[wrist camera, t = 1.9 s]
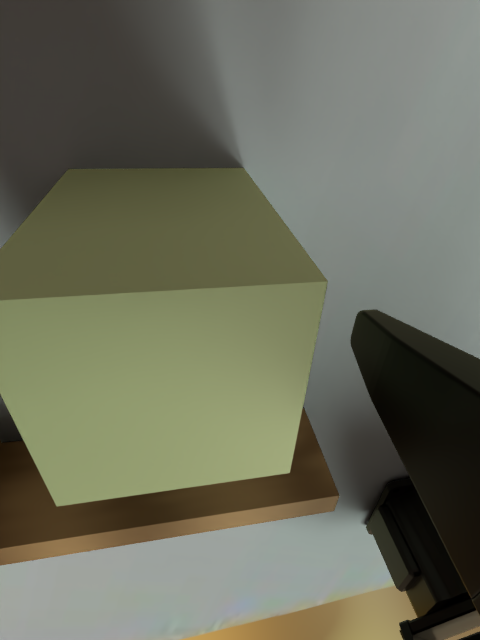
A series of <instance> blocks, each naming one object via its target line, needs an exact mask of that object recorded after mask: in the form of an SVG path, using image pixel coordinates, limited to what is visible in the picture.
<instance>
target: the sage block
mask: <svg viewBox="0 0 480 640" xmlns="http://www.w3.org/2000/svg"><path fill="white" fill-rule="evenodd" d="M327 283H328V281H327V280H326V278H325V277H324V276H323V274H322V273H321V271H320V270H319V269H318V267H317V266H316V265H315V263H314V262H313V261H312V259H311V258H310V257H309V255H308V254H307V253H306V251H305V250H304V249H303V247H302V246H301V244H300V243H299V242H298V240H297V239H296V238H295V236H294V235H293V234H292V232H291V231H290V230H289V228H288V227H287V226H286V224H285V223H284V222H283V220H282V219H281V217H280V216H279V215H278V213H277V212H276V211H275V209H274V208H273V207H272V205H271V204H270V203H269V201H268V200H267V199H266V197H265V196H264V195H263V193H262V192H261V190H260V189H259V188H258V186H257V185H256V184H255V182H254V181H253V180H252V178H251V177H250V176H249V174H248V173H247V172H246V170H245V169H244V168H145V169H68V170H67V171H66V172H65V174H64V175H63V176H62V177H61V178H60V179H59V181H58V182H57V183H56V184H55V185H54V187H53V188H52V189H51V190H50V191H49V192H48V194H47V195H46V196H45V197H44V198H43V200H42V201H41V202H40V203H39V204H38V205H37V207H36V208H35V209H34V210H33V211H32V212H31V214H30V215H29V216H28V217H27V218H26V220H25V221H24V222H23V223H22V224H21V225H20V227H19V228H18V229H17V230H16V231H15V233H14V234H13V235H12V236H11V237H10V238H9V240H8V241H7V242H6V243H5V244H4V246H3V247H2V248H1V249H0V394H1V396H2V398H3V400H4V402H5V404H6V406H7V408H8V410H9V412H10V414H11V416H12V418H13V420H14V422H15V424H16V426H17V428H18V430H19V432H20V434H21V436H22V438H23V440H24V442H25V444H26V446H27V448H28V450H29V452H30V454H31V456H32V458H33V460H34V462H35V464H36V466H37V468H38V470H39V472H40V474H41V476H42V478H43V480H44V482H45V484H46V486H47V488H48V490H49V492H50V494H51V496H52V498H53V500H54V502H55V504H56V506H57V507H58V506H65V505H71V504H78V503H85V502H92V501H99V500H106V499H113V498H120V497H127V496H134V495H141V494H148V493H155V492H162V491H169V490H176V489H182V488H189V487H196V486H203V485H210V484H217V483H224V482H231V481H238V480H245V479H252V478H259V477H266V476H273V475H280V474H287V473H290V469H291V464H292V459H293V454H294V449H295V444H296V439H297V434H298V429H299V424H300V419H301V414H302V409H303V404H304V399H305V394H306V389H307V384H308V379H309V374H310V369H311V364H312V359H313V353H314V348H315V343H316V338H317V333H318V328H319V323H320V318H321V313H322V308H323V303H324V298H325V293H326V288H327Z"/></svg>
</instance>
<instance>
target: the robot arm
mask: <svg viewBox="0 0 480 640" xmlns="http://www.w3.org/2000/svg"><path fill="white" fill-rule="evenodd" d="M351 347H352V350H353V352H354V355H355V358H356V361H357V363H358V366H359V369H360V371H361V374H362V377H363V380H364V382H365V385H366V388H367V390H368V393H369V395H370V398H371V400H372V402H373V404H374V406H375V408H376V410H377V412H378V414H379V416H380V418H381V420H382V422H383V424H384V426H385V428H386V430H387V432H388V434H389V436H390V438H391V440H392V442H393V444H394V446H395V448H396V450H397V452H398V454H399V456H400V458H401V460H402V462H403V464H404V466H405V468H406V470H407V472H408V474H409V476H410V479H403V480H397V481H392V482H390V483H389V484H387V485H386V487H385V489H384V491H383V493H382V495H381V497H380V500H379V502H378V504H377V506H376V508H375V510H374V512H373V514H372V516H371V518H370V520H369V522H368V524H367V526H366V528H367V531H368V533H369V534H373V536H374V538H375V540H376V543H377V545H378V547H379V549H380V552H381V554H382V556H383V559H384V561H385V563H386V565H387V568H388V570H389V572H390V574H391V577H392V579H393V581H394V583H395V586H396V588H397V589H398V590H399V591H401V592H402V591H406V593H407V595H408V597H409V600H410V602H411V604H412V606H413V609H414V611H415V613H416V615H417V617H418V618H416V619H413V620H411V621H410V620H406V621H403V622H401V623H399V625H400V628H401V630H400V633H401V635H402V638H403V640H444V639H447V638H450V637H453V636H455V635H458V634H460V633H463V632H465V631H468V630H471V629H473V628H476V627H479V626H480V359H478V358H476V357H474V356H472V355H470V354H468V353H466V352H464V351H462V350H460V349H458V348H455V347H453V346H451V345H449V344H447V343H445V342H443V341H441V340H439V339H437V338H435V337H433V336H430V335H428V334H426V333H424V332H422V331H420V330H418V329H416V328H414V327H412V326H410V325H408V324H405V323H403V322H401V321H399V320H397V319H395V318H393V317H391V316H389V315H387V314H385V313H382V312H380V311H378V310H374V309H373V310H361V311H360V312H358V314H357V316H356V320H355V323H354V327H353V331H352V335H351ZM459 640H480V632H477V633H475V634H472V635H469V636H467V637H464V638H461V639H459Z"/></svg>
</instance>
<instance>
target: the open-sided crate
mask: <svg viewBox="0 0 480 640" xmlns="http://www.w3.org/2000/svg"><path fill="white" fill-rule="evenodd" d="M338 498H339V493H338V491H337V488H336V486H335V483H334V481H333V478H332V476H331V473H330V471H329V468H328V466H327V464H326V461H325V459H324V456H323V454H322V451H321V449H320V446H319V444H318V441H317V439H316V436H315V434H314V431H313V429H312V426H311V424H310V421H309V419H308V416H307V414H306V411H305V409H304V408H303V409H302V414H301V419H300V424H299V429H298V434H297V439H296V444H295V449H294V454H293V459H292V464H291V469H290V473H287V474H280V475H273V476H266V477H259V478H252V479H245V480H238V481H231V482H224V483H217V484H210V485H203V486H196V487H189V488H182V489H176V490H169V491H162V492H155V493H148V494H141V495H134V496H127V497H120V498H113V499H106V500H99V501H92V502H85V503H78V504H71V505H65V506H58V507H57V506H56V504H55V502H54V500H53V498H52V496H51V494H50V492H49V490H48V488H47V486H46V484H45V482H44V480H43V478H42V476H41V474H40V472H39V470H38V468H37V466H36V464H35V462H34V460H33V458H32V456H31V454H30V452H29V450H28V448H27V446H26V444H25V442H24V440H23V441H15V442H6V443H1V441H0V565H6V564H12V563H18V562H24V561H30V560H37V559H43V558H49V557H55V556H61V555H67V554H73V553H79V552H86V551H92V550H98V549H104V548H110V547H116V546H122V545H128V544H135V543H141V542H147V541H153V540H159V539H165V538H171V537H177V536H184V535H190V534H196V533H202V532H208V531H214V530H220V529H226V528H233V527H239V526H245V525H251V524H257V523H263V522H269V521H275V520H282V519H288V518H294V517H300V516H306V515H312V514H318V513H324V512H331V511H334V509H335V506H336V504H337V501H338Z"/></svg>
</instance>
